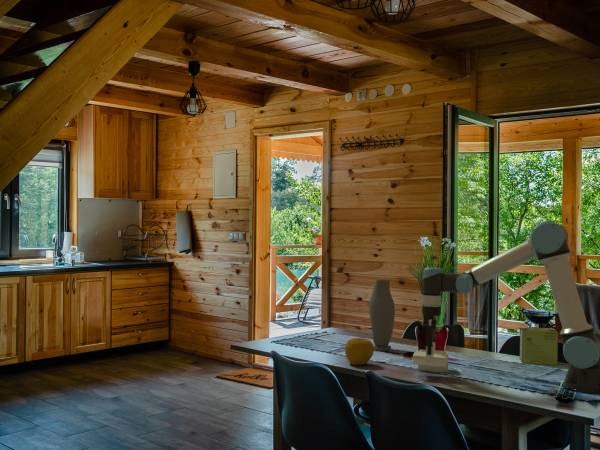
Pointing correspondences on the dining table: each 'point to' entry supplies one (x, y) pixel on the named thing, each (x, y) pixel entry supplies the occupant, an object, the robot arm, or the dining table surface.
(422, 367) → the tub
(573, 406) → the dining table surface
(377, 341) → the vase
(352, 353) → the apple
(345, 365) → the dining table surface
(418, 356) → the lid
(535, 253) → the robot arm
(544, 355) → the protein box
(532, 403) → the dining table surface
